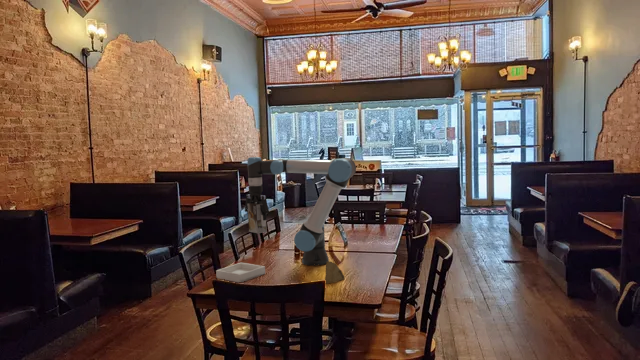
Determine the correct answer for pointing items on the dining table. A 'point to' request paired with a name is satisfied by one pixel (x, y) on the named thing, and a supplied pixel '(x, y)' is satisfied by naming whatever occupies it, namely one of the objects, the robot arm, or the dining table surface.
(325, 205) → the robot arm
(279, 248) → the dining table surface
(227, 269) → the tray
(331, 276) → the rock
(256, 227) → the coffee box
